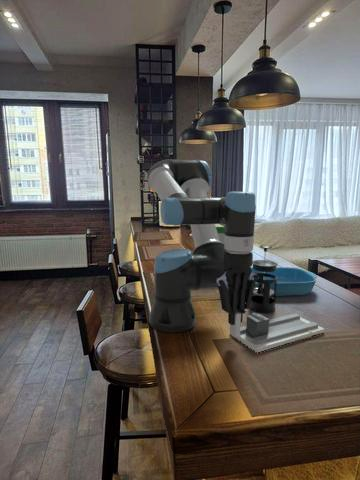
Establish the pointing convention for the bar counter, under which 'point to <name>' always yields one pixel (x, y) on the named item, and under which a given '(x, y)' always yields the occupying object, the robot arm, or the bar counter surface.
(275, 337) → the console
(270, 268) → the french press
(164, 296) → the robot arm
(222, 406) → the bar counter surface
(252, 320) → the fader tab
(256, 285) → the casserole dish
